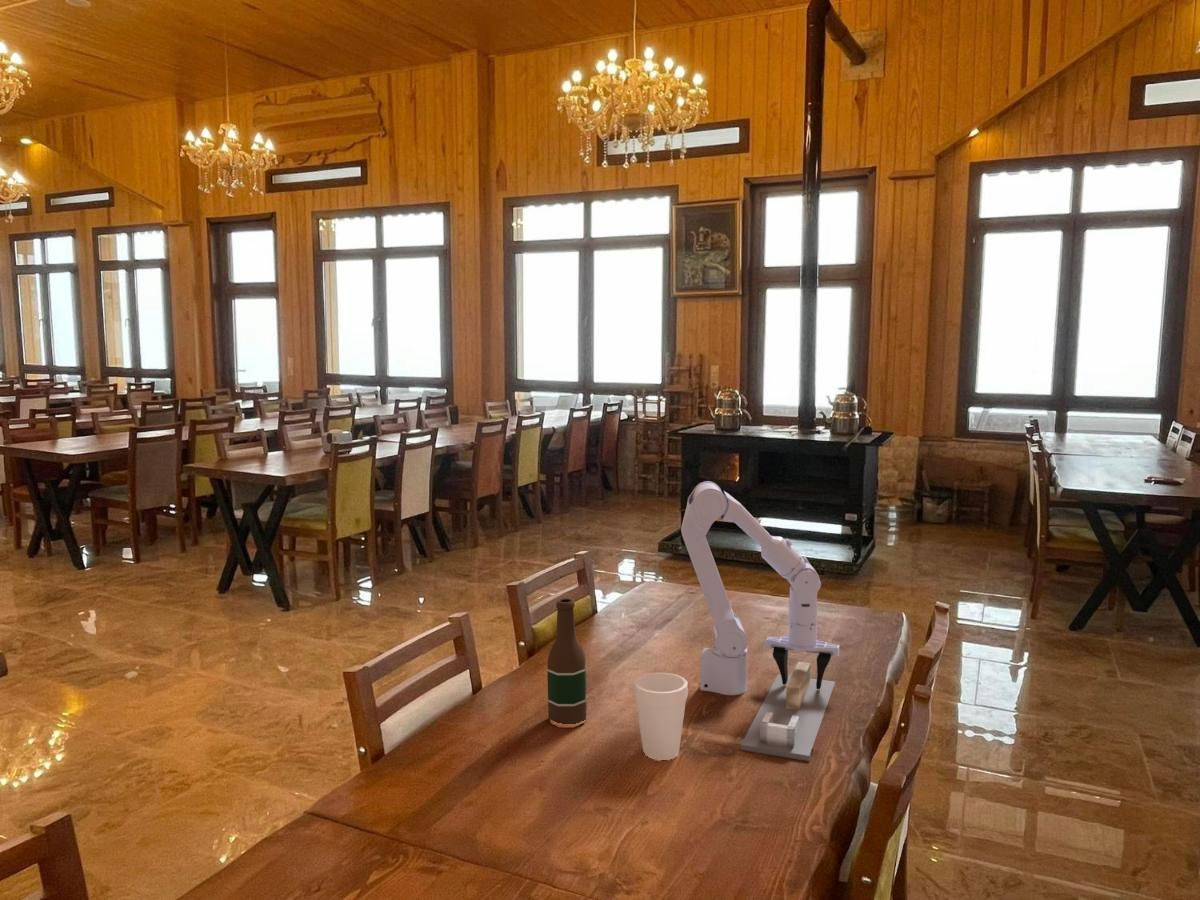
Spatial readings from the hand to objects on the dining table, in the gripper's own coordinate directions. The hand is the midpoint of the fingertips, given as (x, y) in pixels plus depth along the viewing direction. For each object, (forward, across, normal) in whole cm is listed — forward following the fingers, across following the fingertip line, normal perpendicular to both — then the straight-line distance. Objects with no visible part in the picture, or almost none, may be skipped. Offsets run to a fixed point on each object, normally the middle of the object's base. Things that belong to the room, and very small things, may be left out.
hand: (801, 685), depth 176 cm
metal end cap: (+1, 0, -24) cm, 24 cm away
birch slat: (+1, 0, -4) cm, 4 cm away
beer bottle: (+2, -40, -29) cm, 49 cm away
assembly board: (+2, 0, -12) cm, 12 cm away
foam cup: (+2, -19, -35) cm, 40 cm away
